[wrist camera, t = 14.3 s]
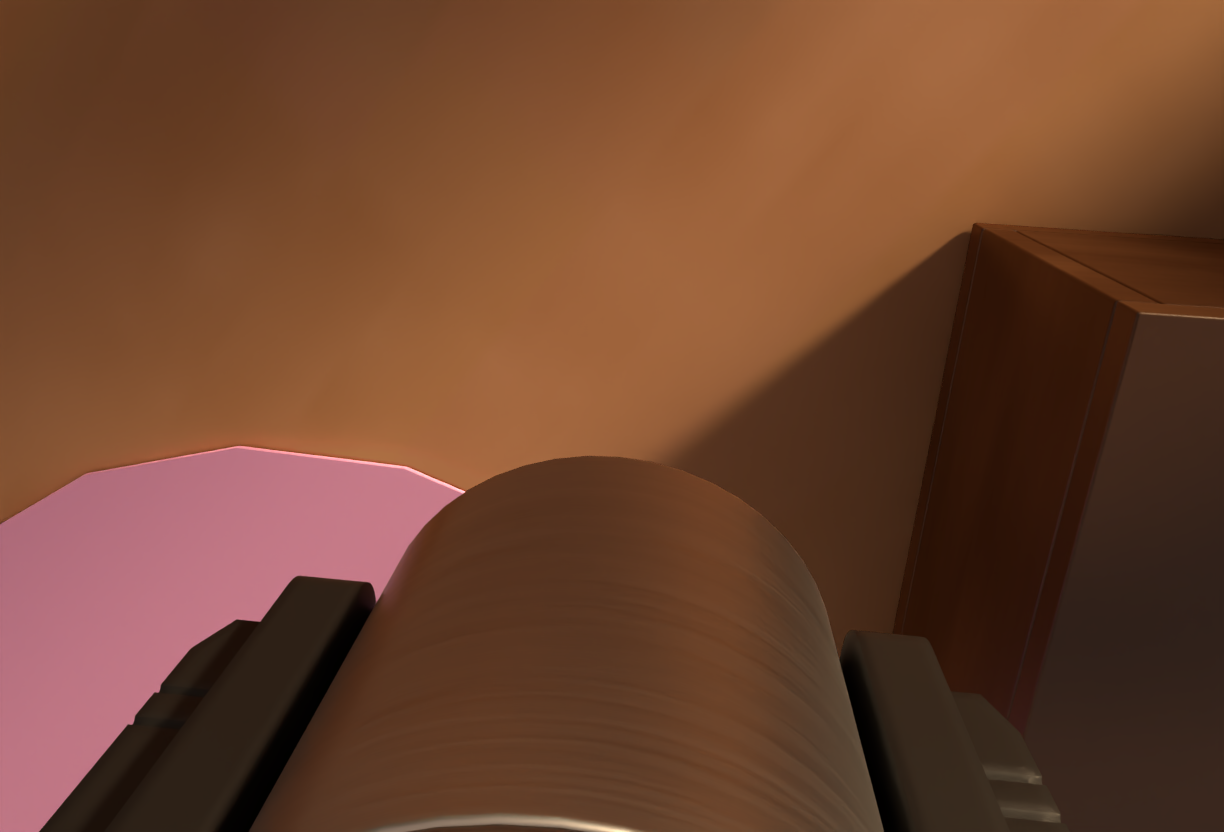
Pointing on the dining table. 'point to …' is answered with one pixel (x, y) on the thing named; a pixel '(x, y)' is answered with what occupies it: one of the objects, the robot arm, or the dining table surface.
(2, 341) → the dining table surface
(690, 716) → the tin
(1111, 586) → the cabinet
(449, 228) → the dining table surface
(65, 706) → the platter
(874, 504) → the dining table surface
